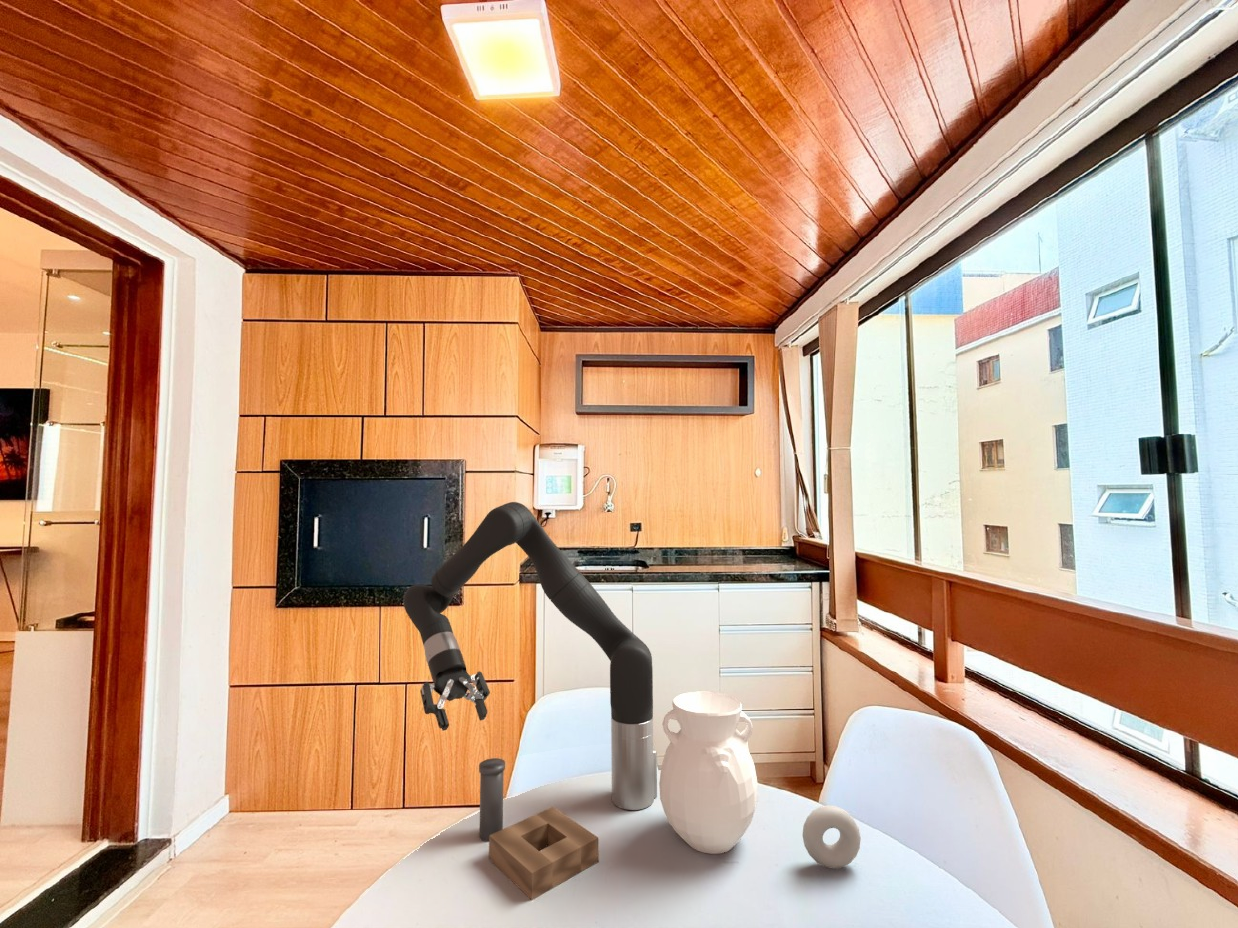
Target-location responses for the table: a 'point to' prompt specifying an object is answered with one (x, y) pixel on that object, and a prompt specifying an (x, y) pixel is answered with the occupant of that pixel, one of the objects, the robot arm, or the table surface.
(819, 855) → the donut
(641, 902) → the table surface
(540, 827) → the socket block
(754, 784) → the white handled vase
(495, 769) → the plug
